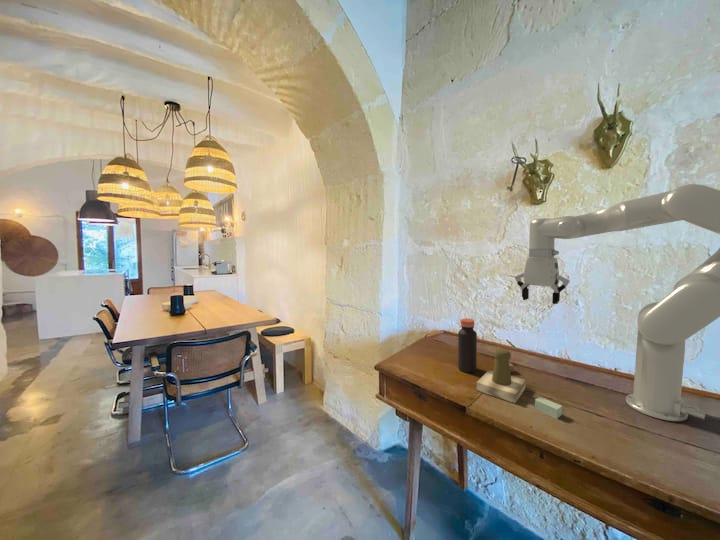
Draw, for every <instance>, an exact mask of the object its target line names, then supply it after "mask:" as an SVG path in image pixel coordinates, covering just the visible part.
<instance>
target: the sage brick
mask: <svg viewBox="0 0 720 540" xmlns="http://www.w3.org/2000/svg"><path fill="white" fill-rule="evenodd" d="M534 409H535V410H537V411H539V412H541V413H543V414H545V415H548V416H550V417H552V418H554V419H558V418H560V417H561V416H562V415H563V405H561V404H558V403H556V402H553V401H552V400H550V399H546V398H544V397H542V396H539V397H537V398H536V399H534Z"/></svg>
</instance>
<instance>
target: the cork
mask: <svg viewBox="0 0 720 540" xmlns="http://www.w3.org/2000/svg"><path fill="white" fill-rule="evenodd" d="M493 358H494V363H495V364H494V365H493V370H492V371H493V376H492V381H493V382H494V383H496V384H499V385H511V384H512V382H511V376H512V375H511V374H512V373H510V366H509V363H510V359H511V358H512V356H511V352H510V351H509V350H508V349H506V348H496V349H494V351H493Z"/></svg>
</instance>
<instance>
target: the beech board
mask: <svg viewBox="0 0 720 540" xmlns="http://www.w3.org/2000/svg"><path fill="white" fill-rule="evenodd" d="M492 376H493V370H490V369H488V370H487V371H486V372H485V373H484V374H483V375H482V376H481V377H479V379H478V380H477V381H476V392H479V393H482V394H485V393H486V394H485V395H488V394H489V395H488V396H491V395H492V396H491V397H494V396H495V397H494V398H497V397H498V398H497V399H501V400H504V401H507V402H510V403H512V402H513V403H512V404H516V403H517V402H518V400H519V398H520V397H521V396H522V394H523V392H524V391H525V389H526V379H523V378H520V377H516V376H513V375H511V382H512V384H511V385H499V384H496V383H494V382H493V381H492Z"/></svg>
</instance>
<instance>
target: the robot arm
mask: <svg viewBox="0 0 720 540" xmlns="http://www.w3.org/2000/svg"><path fill="white" fill-rule="evenodd" d="M681 221H685V222H687V223H689V224H692V225H694V226H697V227H699V228H702V229H705V230H707V231H711V232H713V233H716V234H719V235H720V190H719V189H717V188H713V187H710V186H707V185H705V184H704V185H703V184H698V183H697V184H696V183H690V184H689V183H688V184H684V185H682V186H681V185H680V186H678V187H676V188H673V190H668V191H665V192H659V193H657V194H656V193H655V194H651V195H648V196H643V197H640V198H635V199H634V198H633V199H630V200H625V201H622V202H621V201H620V202H618V203H617V204H614V205H612V206H610V207H607V208H605V209H602V210H597V211H593V212H590V213H589V212H588V213H584V214H581V215H576V216H573V215H566V216H559V217H553V218H548V217H547V218H546V217H545V218H534V219H532V220H531V221H530V223H529V236H528V237H529V240H528V241H529V244H528V245H529V247H528V257H526V261H525V265H524V271H523V272H522V273H520V274H518V275H516V276H514V279H515V281H516V284H517V285H518V286H519V288H520V289H521V297H522V300H523V301H527V300H529V296H530V295H529V294H530V293H529V292H530V291H529V290H530V289H529V286H537V287H550V288H551V290H552V291H553V293H552V297H551V298H552V303H551V304H553V305H557V304H558V303H559V302H560V299H561V298H560V297H561V292H562V291H563V290H565V289H566V288H567V286H568V285H569V284H570V282H571V280H569V279H568V278H566V277H564V276H562V275H560V273H559V272H560V269H559V262H558V258H557V257H555V256H556V255H560V254H559V253H560V252H559V250H556V248H555V239H561V240H570V239H578V238H583V237H588V236H589V237H590V236H594V235H600V234H605V233H606V234H607V233H613V232H624V231H625V232H626V231H628V230H634V229H641V228H645V227H650V226H652V227H653V226H657V225H663V224H670V223H674V222H681ZM522 278H523V281H522ZM560 282H561V285H560V286H559V283H560ZM719 318H720V247H719V248H718V249H717V250H716V251H715V252H714V253H713V254H712V255H711V256H710V257H709V258H707V259H705V261H704V262H702V263H701V264H699V265H698V266H697V267H696V268H695V269H694V270H692V271H691V272H690V273H688V274H687V275H685V276H684V277H683V278H681V279H680V280H678V281H677V282H676V283H675V284H674V286H673V290H672V291H670V293H668V294H667V295H666V296H665V297H664V298H662V299H660V300H659V301H658V302H652V303H648V304H646V305H644V306H643V307H642V308H641V309H640V311H639V313H638V316H637V337H636V352H635V366H634V380H633V381H634V382H633V393H631V394H627V396H626V397H625V401H626V403H627V404H628V405H629V407H631V408H632V409H634V410H636V411H638V412H639V413H642V414H644V415H647V416H649V417H651V418H656V419H659V420H663V421H669V422H684V421H686V420H688V417H689V416H693V417H695V418H698V419H701V420H705V417H706V412H705V411H703V410H700V408H699V407H698V406H694V405H691V404H687V402H684V397H682V388H683V387H682V385H683V377H684V376H683V374H684V363H685V357H686V356H685V353H686V351H685V350H686V340H688V339H690V337H693V336H694V335H695V334H697V333H698V332H700V331H701V330H703V329H704V328H706V327H708V326H709V325H710V324H712V323H713V322H714V321H716V320H718V319H719Z"/></svg>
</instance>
